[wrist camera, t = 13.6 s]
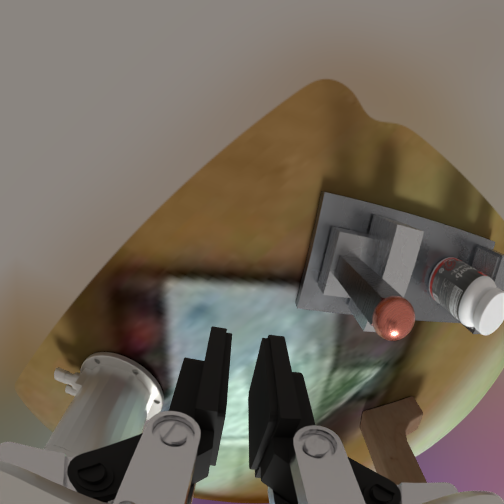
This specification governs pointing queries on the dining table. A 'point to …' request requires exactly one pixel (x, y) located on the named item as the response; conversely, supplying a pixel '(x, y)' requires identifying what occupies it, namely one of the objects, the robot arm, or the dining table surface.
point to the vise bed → (430, 254)
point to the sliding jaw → (374, 274)
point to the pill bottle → (467, 295)
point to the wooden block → (393, 439)
